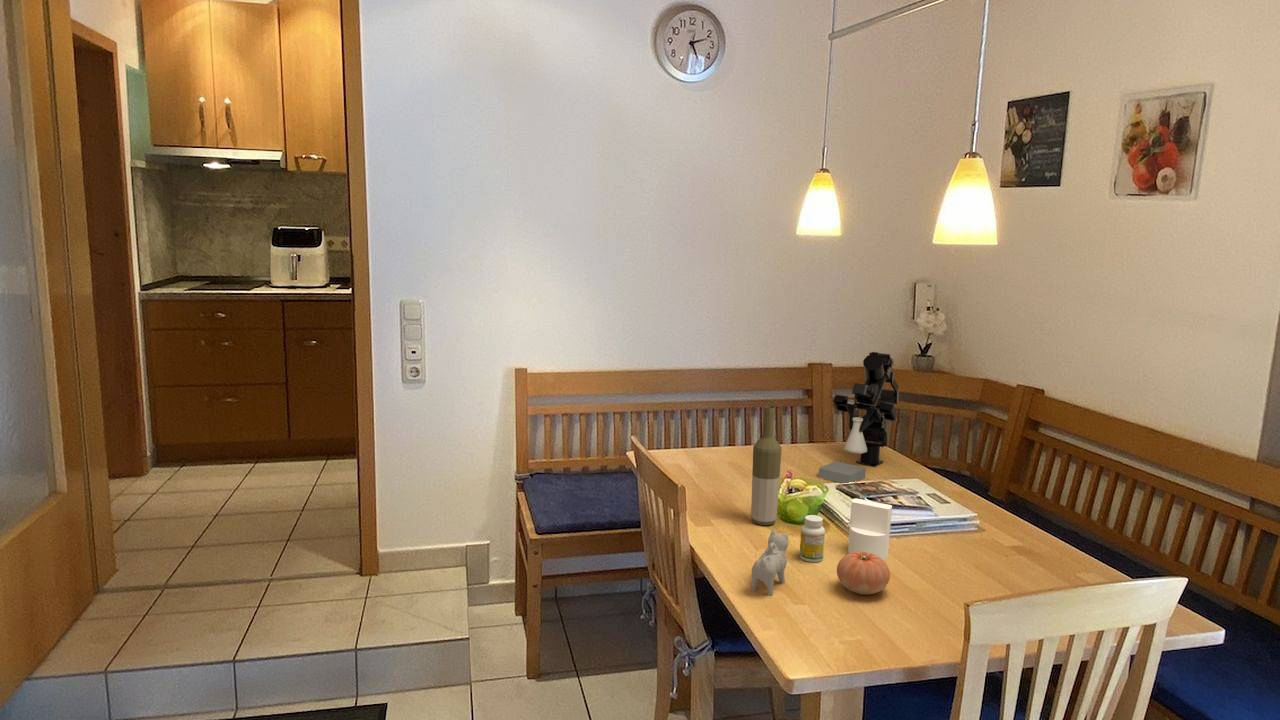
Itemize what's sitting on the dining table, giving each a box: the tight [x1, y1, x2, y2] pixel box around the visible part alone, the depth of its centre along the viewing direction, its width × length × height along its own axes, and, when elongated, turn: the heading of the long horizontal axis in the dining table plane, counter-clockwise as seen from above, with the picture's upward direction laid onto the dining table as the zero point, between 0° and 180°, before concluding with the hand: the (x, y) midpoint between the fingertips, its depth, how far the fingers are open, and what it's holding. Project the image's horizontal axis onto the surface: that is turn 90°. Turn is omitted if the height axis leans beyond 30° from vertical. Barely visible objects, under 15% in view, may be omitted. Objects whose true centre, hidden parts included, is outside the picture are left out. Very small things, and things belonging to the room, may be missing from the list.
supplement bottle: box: [799, 514, 826, 563], centre depth 191 cm, size 5×5×10 cm
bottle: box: [750, 405, 782, 526], centre depth 211 cm, size 7×7×30 cm
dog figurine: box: [750, 529, 789, 596], centre depth 178 cm, size 5×13×11 cm, turn 151°
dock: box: [818, 460, 867, 484], centre depth 250 cm, size 10×10×3 cm
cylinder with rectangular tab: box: [847, 497, 893, 560], centre depth 195 cm, size 9×9×12 cm
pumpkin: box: [836, 552, 891, 595], centre depth 176 cm, size 11×11×8 cm
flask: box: [843, 417, 867, 455], centre depth 254 cm, size 7×7×10 cm
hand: (855, 430), depth 252 cm, fingers closed on flask, 3 cm apart
